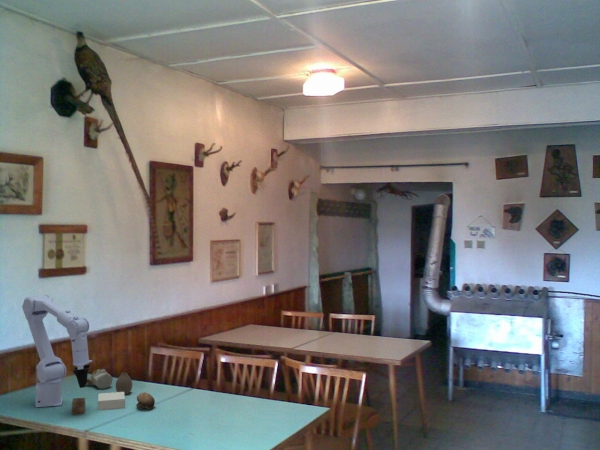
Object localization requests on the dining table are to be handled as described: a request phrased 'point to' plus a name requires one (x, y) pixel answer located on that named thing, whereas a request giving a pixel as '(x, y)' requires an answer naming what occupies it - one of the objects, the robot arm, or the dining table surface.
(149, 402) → the mushroom
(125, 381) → the vase
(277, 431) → the dining table surface
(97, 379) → the ceramic sculpture
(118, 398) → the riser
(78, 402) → the walnut block
